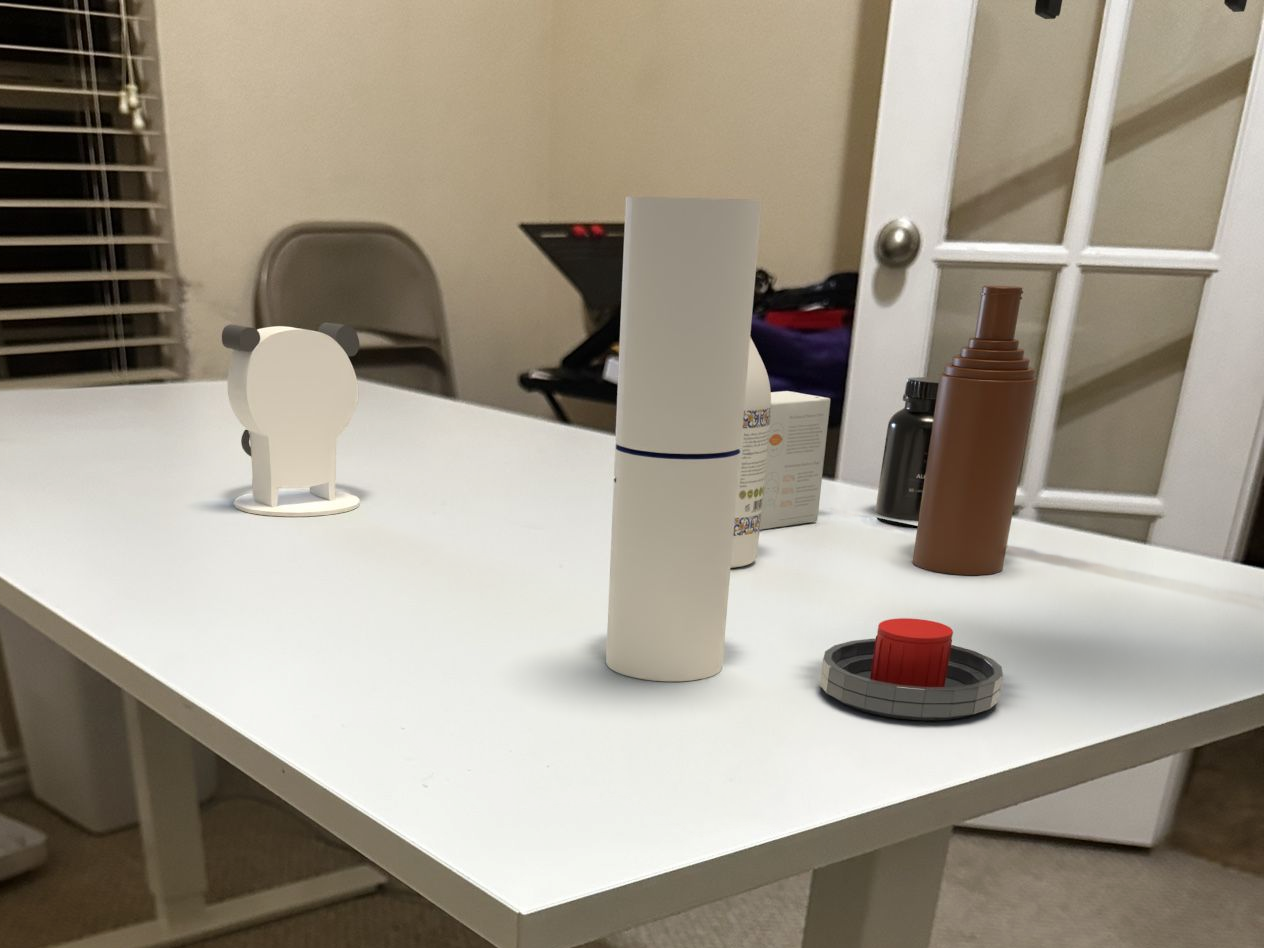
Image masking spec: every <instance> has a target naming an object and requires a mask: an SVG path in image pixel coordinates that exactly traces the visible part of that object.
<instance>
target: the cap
mask: <svg viewBox="0 0 1264 948" xmlns="http://www.w3.org/2000/svg"><path fill="white" fill-rule="evenodd" d="M953 634H954V630H953V629H952V627H950V626H949V625H946V624H944V623H941V622H937V621H934V620H928V619H921V618H909V617H908V618H904V617H903V618H902V617H901V618H890V619H886V620H882V621H880V622H879V623H878V625H877V633H876V635H875V638H876V640H875V647H874V655H873V662H872V669H871V676H870V679H871V680H876V681H881V682H886V683H892V684H897V685H908V686H918V687H944V686H945V680H946V674H947V668H948V662H949V656H950V650H951V645H953V644H952V643H953Z"/></svg>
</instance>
